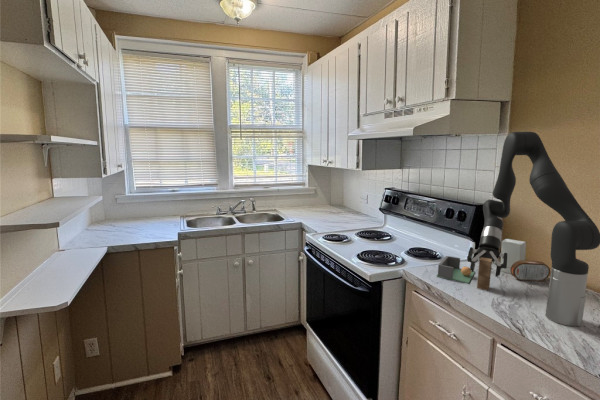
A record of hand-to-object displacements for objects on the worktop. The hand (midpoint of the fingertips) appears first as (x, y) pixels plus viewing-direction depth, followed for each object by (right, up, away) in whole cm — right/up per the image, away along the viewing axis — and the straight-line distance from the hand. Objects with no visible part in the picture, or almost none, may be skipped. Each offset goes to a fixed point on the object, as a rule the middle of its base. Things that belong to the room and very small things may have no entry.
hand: (484, 273), depth 134 cm
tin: (+25, -5, +10) cm, 27 cm away
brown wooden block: (0, -6, +2) cm, 6 cm away
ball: (-1, -2, +13) cm, 13 cm away
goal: (-4, -4, +16) cm, 17 cm away
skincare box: (+23, -4, +19) cm, 30 cm away
